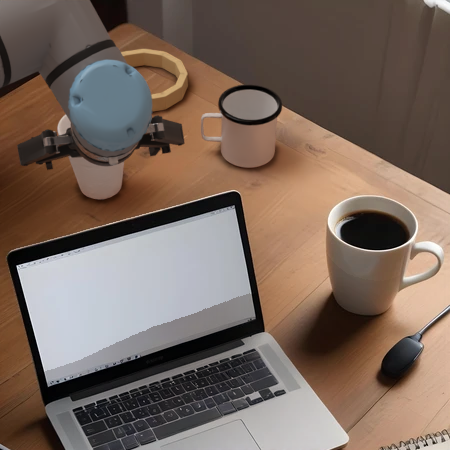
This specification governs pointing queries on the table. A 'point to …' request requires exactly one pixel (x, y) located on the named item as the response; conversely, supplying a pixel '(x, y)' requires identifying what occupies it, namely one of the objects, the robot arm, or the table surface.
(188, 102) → the table surface
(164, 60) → the tan faceted ring
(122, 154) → the robot arm
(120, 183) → the cup
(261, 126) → the mug
